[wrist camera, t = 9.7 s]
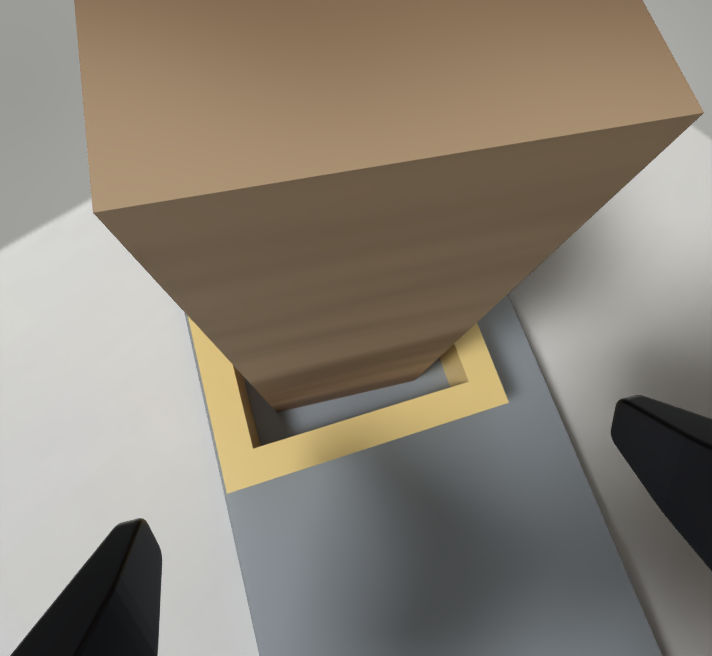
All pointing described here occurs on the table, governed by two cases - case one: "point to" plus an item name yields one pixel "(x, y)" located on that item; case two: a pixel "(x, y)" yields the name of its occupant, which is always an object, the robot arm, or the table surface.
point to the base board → (420, 513)
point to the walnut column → (361, 163)
